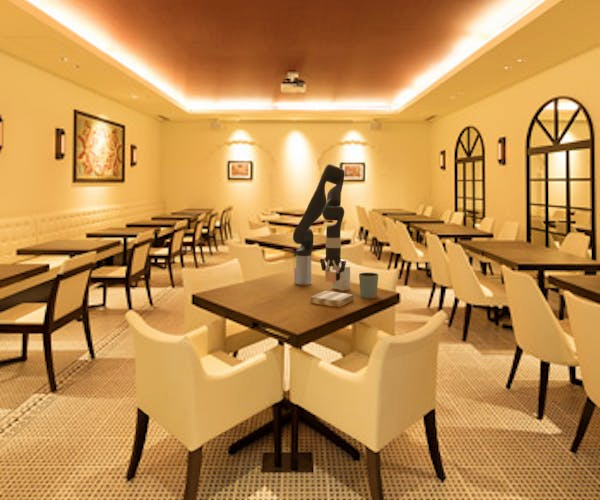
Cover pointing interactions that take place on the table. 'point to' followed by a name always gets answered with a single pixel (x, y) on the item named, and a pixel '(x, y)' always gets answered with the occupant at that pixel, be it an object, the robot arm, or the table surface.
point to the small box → (343, 280)
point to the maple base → (332, 298)
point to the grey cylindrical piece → (368, 285)
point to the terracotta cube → (331, 276)
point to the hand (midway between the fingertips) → (332, 279)
